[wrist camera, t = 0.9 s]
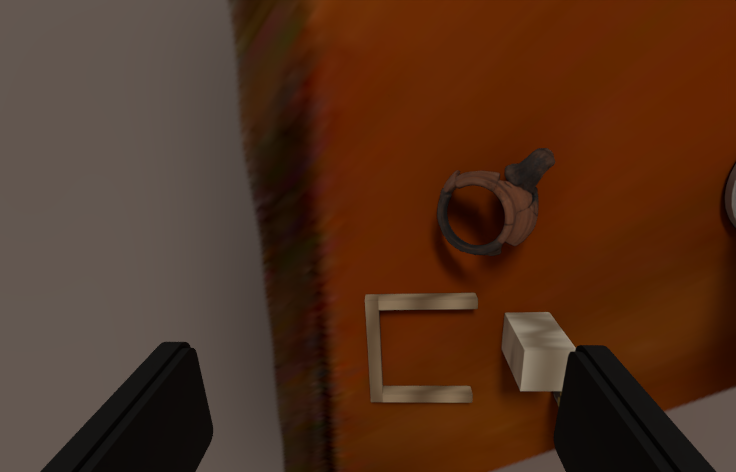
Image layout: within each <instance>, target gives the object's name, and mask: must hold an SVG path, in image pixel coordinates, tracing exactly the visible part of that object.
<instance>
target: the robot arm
mask: <svg viewBox="0 0 736 472" xmlns="http://www.w3.org/2000/svg"><path fill="white" fill-rule="evenodd" d="M725 207H726V211H727V214H728V217H729V219H730V221H731V222H732V223H733V225H734V226H735V227H736V164H735V166H734V168H733V170H732V172H731V174H730V176H729V179H728V182H727V185H726V191H725ZM212 436H213V425H212V420H211V415H210V411H209V406H208V403H207V398H206V393H205V388H204V384H203V379H202V375H201V371H200V366H199V361H198V357H197V353H196V350H195V349H194V348H191V347H190V345H189V344H188V343H187V342H163V343H161V344H160V345H159V346H158V347H157V348H156V349H155V350H154V351H153V352H152V353H151V354H150V355H149V357H148V358H147V359H146V360H145V361H144V362H143V363H142V364H141V365H140V366H139V367H138V368H137V369H136V370H135V372H134V373H133V374H132V375H131V376H130V377H129V378H128V379H127V380H126V381H125V382H124V383H123V384H122V385H121V386H120V387H119V388H118V390H117V391H116V392H115V393H114V394H113V395H112V396H111V397H110V398H109V399H108V400H107V401H106V402H105V403H104V404H103V405H102V407H101V408H100V409H99V410H98V411H97V412H96V413H95V414H94V415H93V416H92V417H91V418H90V419H89V420H88V421H87V423H86V424H85V425H84V426H83V427H82V428H81V429H80V430H79V431H78V432H77V433H76V434H75V436H74V437H72V439H71V440H70V441H69V442H68V443H67V444H66V445H65V446H64V447H63V448H62V449H61V450H60V451H59V452H58V453H57V454H56V456H55V457H54V458H53V459H52V460H51V461H50V462H49V463H48V464H47V465H46V466H45V467H44V468H43V470H41V472H195V471H196V469H197V468H198V466H199V464H200V462H201V460H202V458H203V456H204V454H205V452H206V450H207V448H208V447H209V445H210V442H211V440H212ZM554 444H555V448H556V451H557V454H558V456H559V458H560V460H561V462H562V464H563V466H564V468H565V471H566V472H716V471H715V470H714V469H713V468H712V466H711V465H710V464H709V463H708V462H707V461H706V460H705V459H704V457H703V456H702V455H701V454H700V453H699V452H698V451H697V449H696V448H695V447H694V446H693V445H692V444H691V442H690V441H689V440H688V439H687V438H686V437H685V436H684V434H683V433H682V432H681V431H680V430H679V429H678V428H677V426H676V425H675V424H674V423H673V422H672V421H671V420H670V418H669V417H668V416H667V415H666V414H665V413H664V411H663V410H662V409H661V408H660V407H659V406H658V405H657V403H656V402H655V401H654V400H653V399H652V398H651V397H650V395H649V394H648V393H647V392H646V391H645V390H644V389H643V387H642V386H641V385H640V384H639V383H638V382H637V381H636V379H635V378H634V377H633V376H632V375H631V374H630V373H629V371H628V370H627V369H626V368H625V367H624V366H623V365H622V363H621V362H620V361H619V360H618V359H617V358H616V357H615V355H614V354H613V353H612V352H611V351H610V350H609V349H608V348H607V347H606V346H602V345H580V346H577V348H576V349H575V351H572V352H570V353H569V355H568V359H567V365H566V370H565V376H564V381H563V387H562V392H561V398H560V403H559V409H558V415H557V420H556V426H555V431H554Z"/></svg>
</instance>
